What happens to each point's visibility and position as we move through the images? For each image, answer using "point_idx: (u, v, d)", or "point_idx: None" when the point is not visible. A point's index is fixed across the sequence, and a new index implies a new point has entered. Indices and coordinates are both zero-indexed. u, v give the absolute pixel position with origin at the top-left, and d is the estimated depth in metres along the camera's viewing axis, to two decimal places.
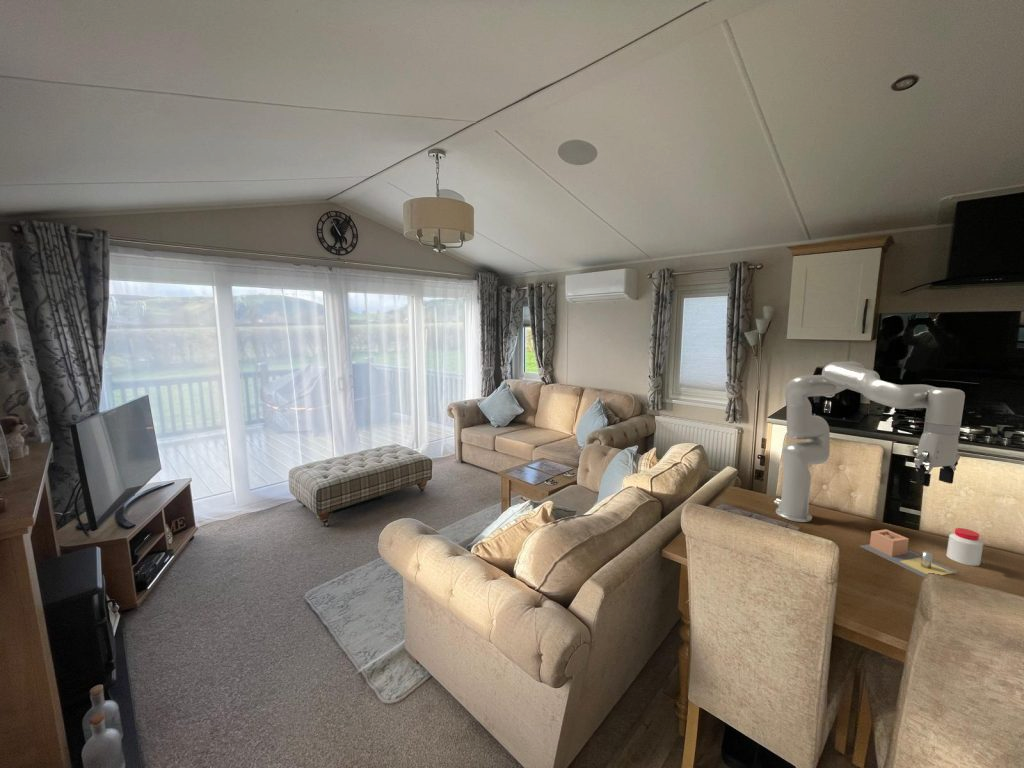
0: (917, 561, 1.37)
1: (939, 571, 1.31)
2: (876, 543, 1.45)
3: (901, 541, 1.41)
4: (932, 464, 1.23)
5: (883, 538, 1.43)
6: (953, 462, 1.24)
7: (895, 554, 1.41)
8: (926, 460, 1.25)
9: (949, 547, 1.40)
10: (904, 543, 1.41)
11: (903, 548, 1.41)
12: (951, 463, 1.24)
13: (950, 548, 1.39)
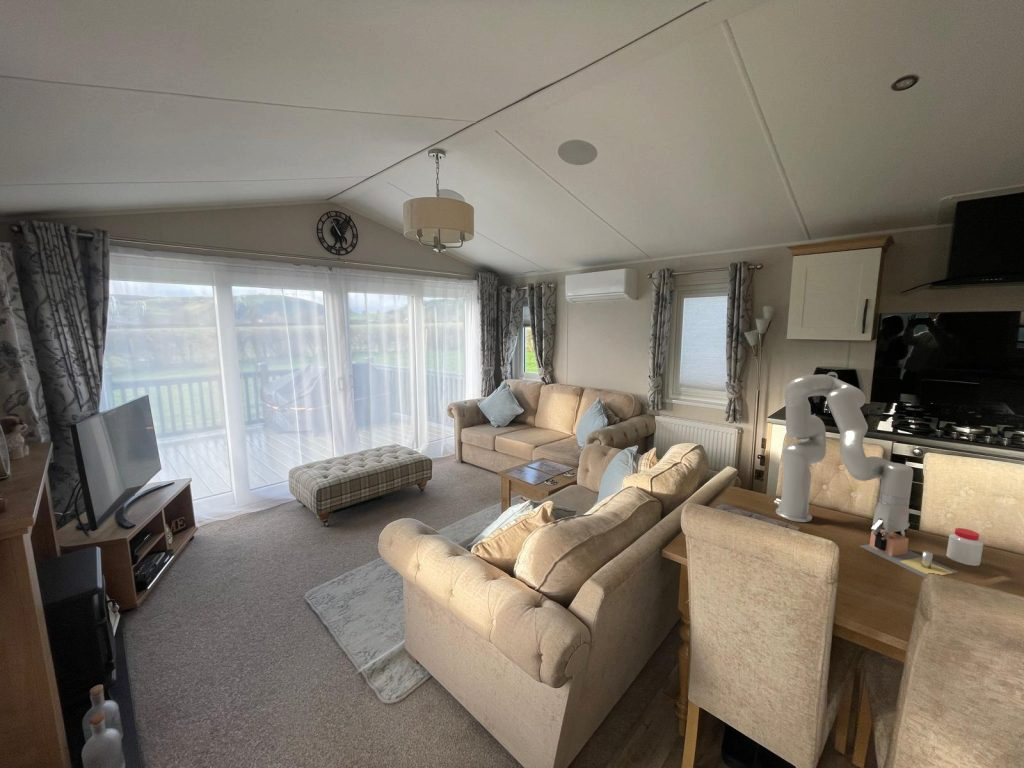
0: (917, 561, 1.37)
1: (939, 571, 1.31)
2: None
3: (901, 541, 1.41)
4: (885, 530, 1.41)
5: None
6: (904, 528, 1.42)
7: (895, 554, 1.41)
8: None
9: (949, 547, 1.40)
10: (904, 543, 1.41)
11: (903, 548, 1.41)
12: (902, 529, 1.42)
13: (950, 548, 1.39)
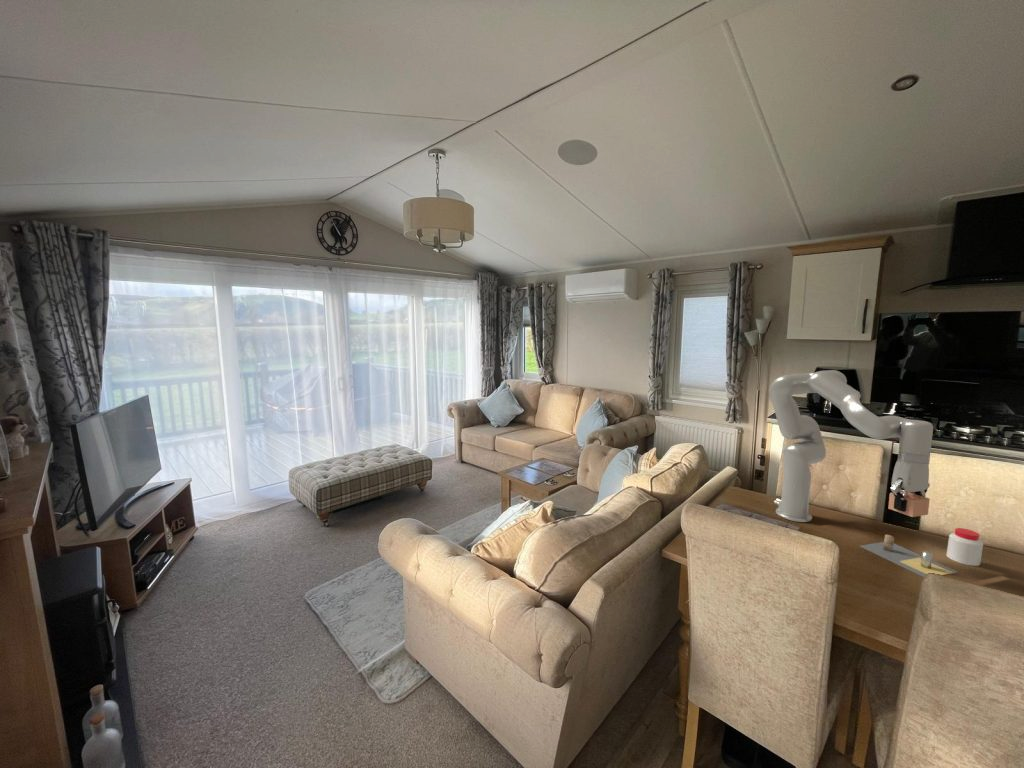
0: (917, 561, 1.37)
1: (939, 571, 1.31)
2: None
3: (922, 501, 1.35)
4: (905, 490, 1.35)
5: None
6: (925, 487, 1.36)
7: (916, 515, 1.35)
8: (901, 486, 1.37)
9: (949, 547, 1.40)
10: (925, 503, 1.35)
11: (924, 508, 1.35)
12: (923, 488, 1.36)
13: (950, 548, 1.39)
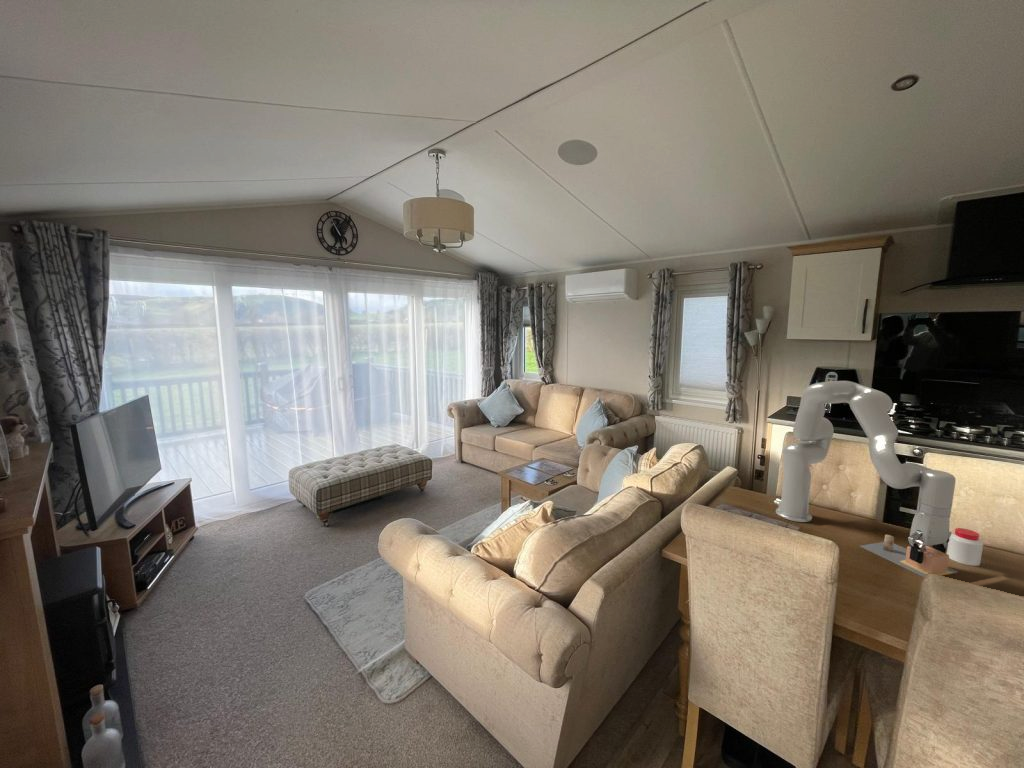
0: None
1: None
2: None
3: (941, 558, 1.30)
4: (925, 543, 1.30)
5: None
6: (945, 540, 1.31)
7: (934, 572, 1.30)
8: (919, 538, 1.33)
9: (949, 547, 1.40)
10: (944, 560, 1.30)
11: (943, 565, 1.31)
12: (943, 541, 1.31)
13: (950, 548, 1.39)
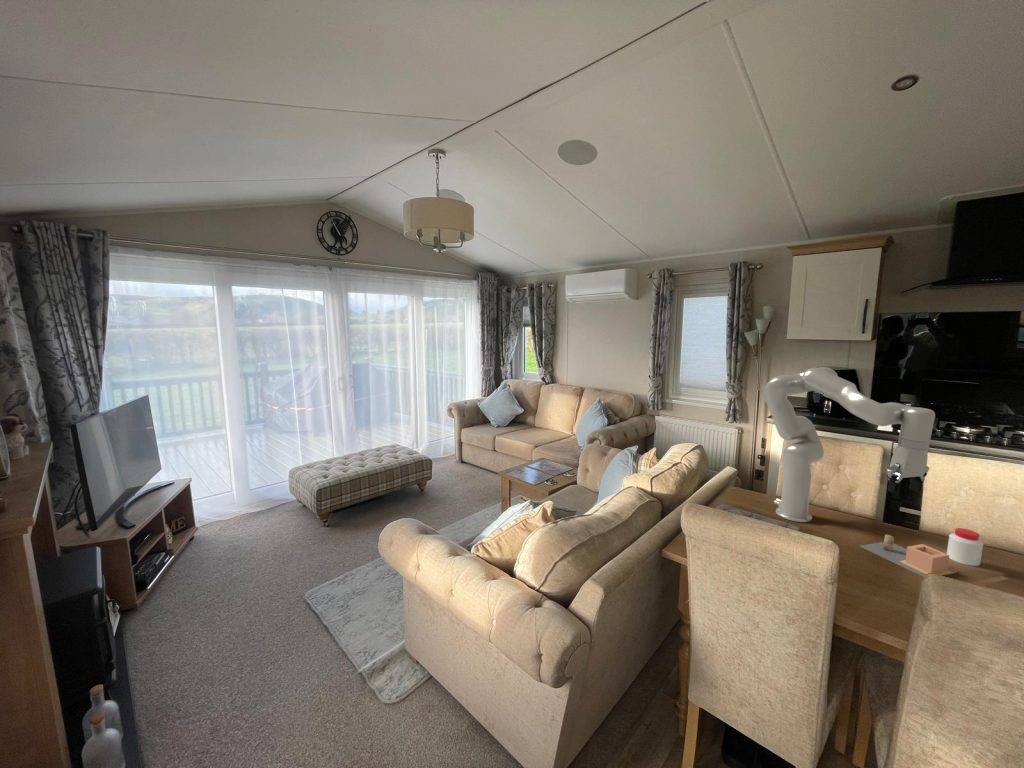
0: None
1: None
2: (912, 559, 1.34)
3: (941, 558, 1.30)
4: (902, 475, 1.38)
5: (921, 554, 1.32)
6: (922, 473, 1.39)
7: (934, 572, 1.30)
8: (898, 471, 1.40)
9: (949, 547, 1.40)
10: (944, 560, 1.30)
11: (943, 565, 1.31)
12: (920, 474, 1.39)
13: (950, 548, 1.39)
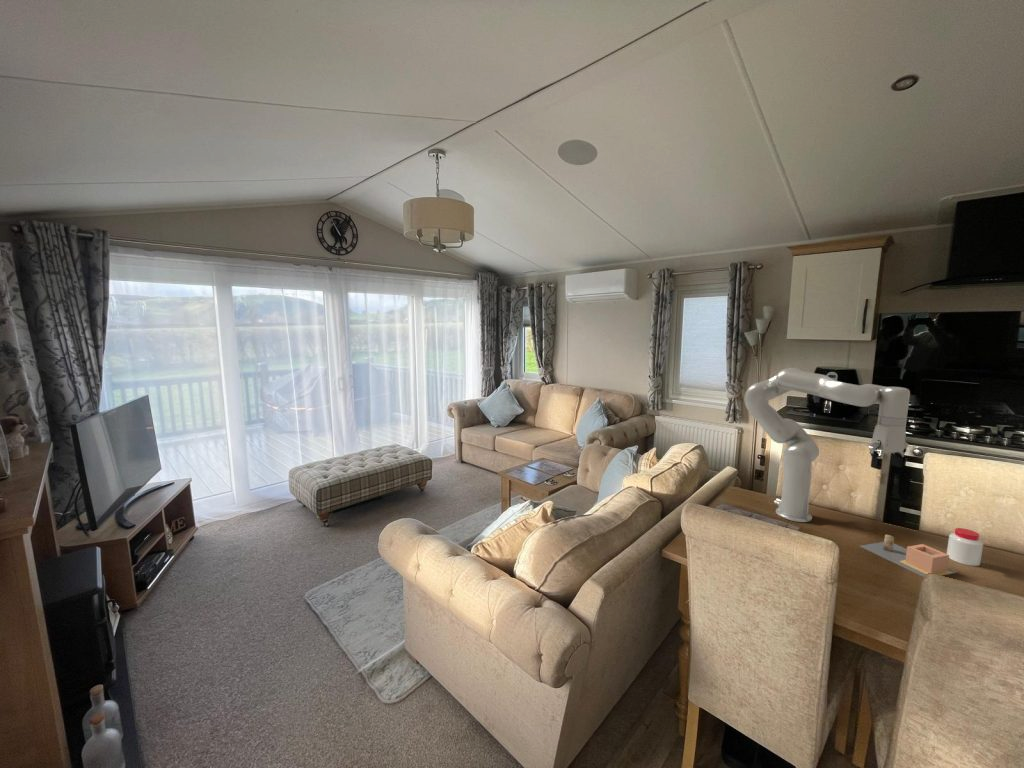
0: None
1: None
2: (912, 559, 1.34)
3: (941, 558, 1.30)
4: (883, 451, 1.46)
5: (921, 554, 1.32)
6: (901, 449, 1.47)
7: (934, 572, 1.30)
8: (879, 447, 1.49)
9: (949, 547, 1.40)
10: (944, 560, 1.30)
11: (943, 565, 1.31)
12: (900, 450, 1.47)
13: (950, 548, 1.39)
